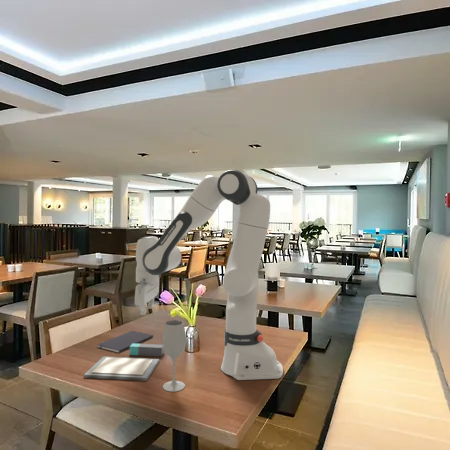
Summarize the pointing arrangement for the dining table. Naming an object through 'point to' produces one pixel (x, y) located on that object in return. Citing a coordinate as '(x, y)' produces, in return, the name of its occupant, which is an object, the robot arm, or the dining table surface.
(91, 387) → the dining table surface
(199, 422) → the dining table surface
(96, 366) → the notepad
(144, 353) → the marker
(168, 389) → the wineglass
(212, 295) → the dining table surface
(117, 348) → the notebook
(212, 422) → the dining table surface
